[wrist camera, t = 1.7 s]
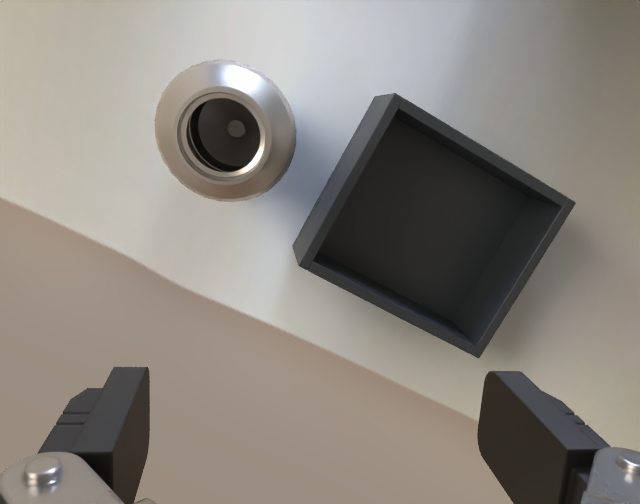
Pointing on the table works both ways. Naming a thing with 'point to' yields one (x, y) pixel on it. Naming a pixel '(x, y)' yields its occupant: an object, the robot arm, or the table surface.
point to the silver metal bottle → (225, 130)
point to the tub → (429, 225)
